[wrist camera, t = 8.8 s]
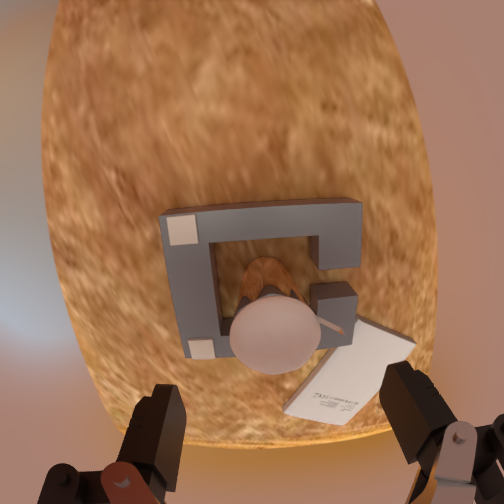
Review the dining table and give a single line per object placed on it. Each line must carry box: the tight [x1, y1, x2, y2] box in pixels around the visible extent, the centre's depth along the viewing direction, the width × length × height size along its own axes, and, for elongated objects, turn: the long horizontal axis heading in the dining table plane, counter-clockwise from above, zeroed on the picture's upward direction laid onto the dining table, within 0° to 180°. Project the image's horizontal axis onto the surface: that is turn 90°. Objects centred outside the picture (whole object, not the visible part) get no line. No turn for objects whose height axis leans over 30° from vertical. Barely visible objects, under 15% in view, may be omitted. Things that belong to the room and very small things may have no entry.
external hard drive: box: [283, 314, 417, 425], centre depth 25 cm, size 2×8×12 cm
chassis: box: [159, 198, 363, 359], centre depth 20 cm, size 11×13×3 cm
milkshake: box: [230, 256, 344, 375], centre depth 17 cm, size 4×5×10 cm
